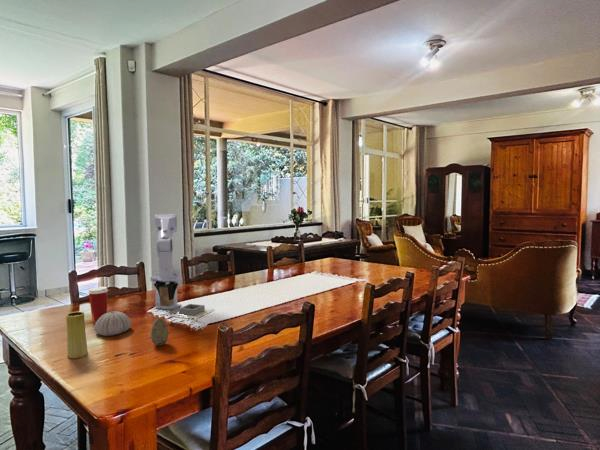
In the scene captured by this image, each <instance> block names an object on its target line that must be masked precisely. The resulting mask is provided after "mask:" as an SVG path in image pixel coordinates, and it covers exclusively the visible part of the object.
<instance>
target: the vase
mask: <svg viewBox="0 0 600 450" xmlns="http://www.w3.org/2000/svg"><path fill="white" fill-rule="evenodd" d="M65 316H66V317H65V318H66V328H67V329H66V333H67V335H66V336H67V358H68V357H69V359H78V358H79V357H80V358H84V357H86V356H87V355H88V354H89V352H88V344H87V343H88V342H87V334H86V323H85V322H86V321H85V312H84V311H72V312H69V313H67V314H66V315H65Z"/></svg>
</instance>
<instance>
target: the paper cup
mask: <svg viewBox="0 0 600 450" xmlns="http://www.w3.org/2000/svg"><path fill="white" fill-rule="evenodd" d="M108 292H109V289H108V287H107V286H95V287H91V288H89V290H88V292H87V294H89V295H88V297H89V306H90V313H91V319H92V323H94V324H95V323H96V321H97V320H98V319H99V318H100V317H101V316H102V315H103V314H106V313H108Z"/></svg>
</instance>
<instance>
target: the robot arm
mask: <svg viewBox="0 0 600 450" xmlns="http://www.w3.org/2000/svg"><path fill="white" fill-rule="evenodd" d="M154 223H155V224H154V225H155V230H156V233H157V240H156V244H155V245H156V246H155V247H156V254H157V262H158V264H157V265H158V272H157V275H153V276H150V282H151V283H152V282H154V283H153V286H154V288H155V289H156V291H155V297H154V298H155V306H154V308H155V309H160V308H161V309H162V310H171V309H172V310H174V309H176V308H179V307H180V306H182V304H181V303H178V290H177V289H178V288H179V286H180V284H181V283H183V278H182V277H180V273H179V270H178V269H176V268H175V267H173V266H174V265H173V252H174V240H173V235H174V233H176V232H177V230H178V215H177V214H176V213H168V214H167V213H166V214H155V215H154ZM164 285H167V288H168V292H169V300H172V299H174V304H173V305H171V306H168V307H167V306H160V291H159V287H161V286H164ZM161 309H160V310H161Z"/></svg>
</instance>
